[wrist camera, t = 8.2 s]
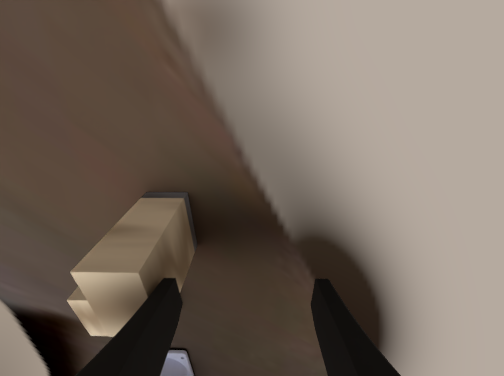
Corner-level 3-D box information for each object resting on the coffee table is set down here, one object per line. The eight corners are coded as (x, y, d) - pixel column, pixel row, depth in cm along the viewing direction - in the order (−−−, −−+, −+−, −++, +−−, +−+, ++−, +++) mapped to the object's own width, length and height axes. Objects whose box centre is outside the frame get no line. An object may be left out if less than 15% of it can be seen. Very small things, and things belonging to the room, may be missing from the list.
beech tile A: (168, 336, 19) (90, 335, 19) (179, 304, 22) (110, 303, 22) (154, 300, 17) (66, 300, 17) (168, 269, 19) (92, 269, 19)
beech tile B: (197, 245, 18) (163, 338, 11) (161, 245, 18) (108, 336, 12) (187, 192, 15) (138, 273, 9) (146, 192, 15) (70, 272, 9)
